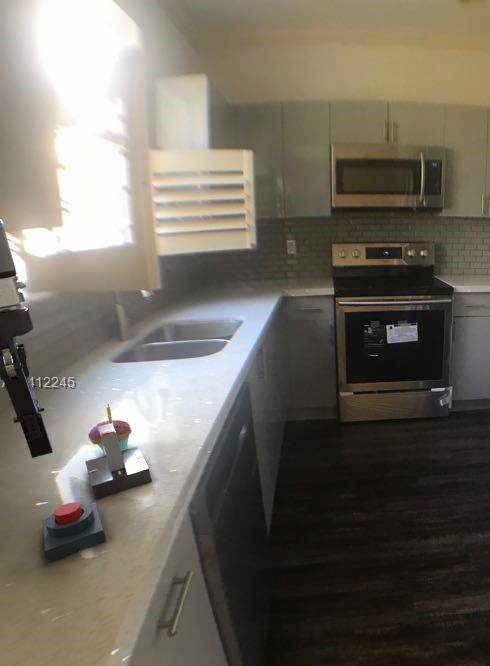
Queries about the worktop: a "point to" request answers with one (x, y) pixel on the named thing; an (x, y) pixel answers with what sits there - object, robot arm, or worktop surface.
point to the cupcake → (120, 427)
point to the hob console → (118, 473)
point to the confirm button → (68, 513)
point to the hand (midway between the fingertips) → (42, 453)
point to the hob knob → (111, 447)
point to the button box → (73, 533)
